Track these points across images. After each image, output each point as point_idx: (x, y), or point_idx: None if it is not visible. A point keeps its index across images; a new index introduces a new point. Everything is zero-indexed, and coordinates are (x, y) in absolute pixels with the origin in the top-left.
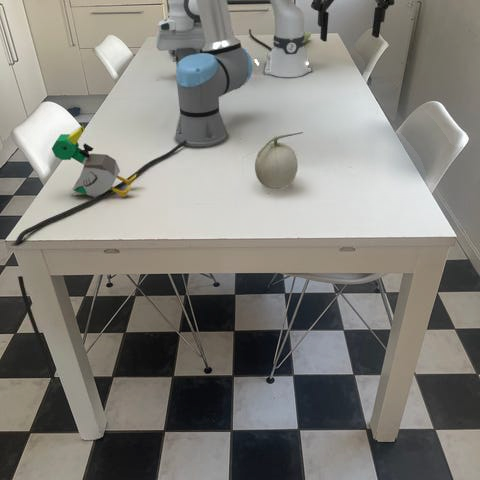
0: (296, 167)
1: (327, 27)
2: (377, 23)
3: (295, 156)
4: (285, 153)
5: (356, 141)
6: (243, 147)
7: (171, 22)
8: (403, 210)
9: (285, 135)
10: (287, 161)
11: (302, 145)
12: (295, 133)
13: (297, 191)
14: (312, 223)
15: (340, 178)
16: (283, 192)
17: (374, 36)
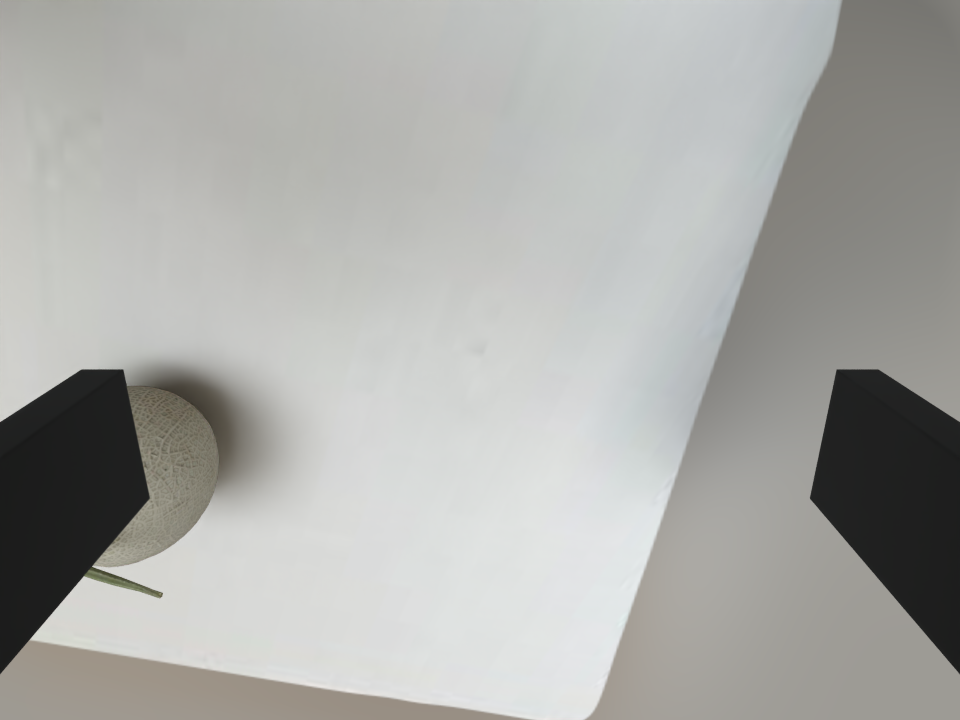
0: (199, 517)
1: (46, 616)
2: (917, 612)
3: (180, 523)
4: (121, 559)
5: (607, 110)
6: (39, 42)
7: None
8: (531, 621)
9: (84, 575)
10: (141, 560)
11: (336, 92)
12: (127, 586)
13: (242, 468)
14: (256, 627)
15: (413, 419)
16: None
17: (819, 456)
